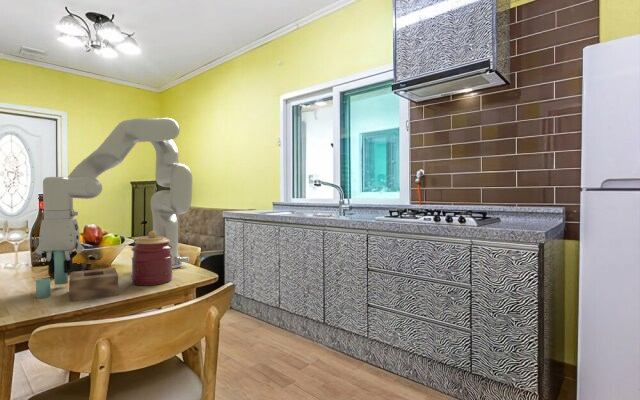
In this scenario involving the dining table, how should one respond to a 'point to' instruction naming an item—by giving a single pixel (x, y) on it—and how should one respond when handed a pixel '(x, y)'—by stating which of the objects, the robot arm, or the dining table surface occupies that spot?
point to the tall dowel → (59, 268)
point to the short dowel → (43, 288)
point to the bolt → (74, 268)
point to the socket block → (93, 284)
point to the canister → (151, 260)
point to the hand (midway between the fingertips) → (60, 271)
